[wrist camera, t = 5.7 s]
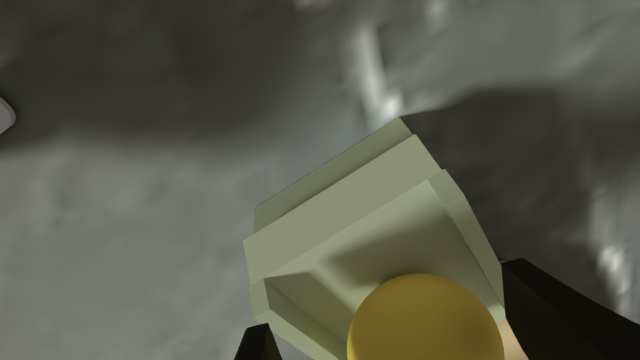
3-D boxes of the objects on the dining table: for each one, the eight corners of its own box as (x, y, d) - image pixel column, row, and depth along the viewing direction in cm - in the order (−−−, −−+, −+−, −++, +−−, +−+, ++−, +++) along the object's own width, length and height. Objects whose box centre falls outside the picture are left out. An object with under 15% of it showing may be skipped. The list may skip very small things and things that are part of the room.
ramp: (245, 199, 20) (234, 299, 14) (394, 104, 18) (449, 169, 13) (374, 353, 24) (407, 477, 18) (501, 284, 23) (578, 393, 17)
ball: (308, 315, 17) (377, 434, 17) (336, 342, 13) (433, 508, 12) (416, 245, 19) (482, 356, 18) (480, 245, 14) (571, 396, 13)
